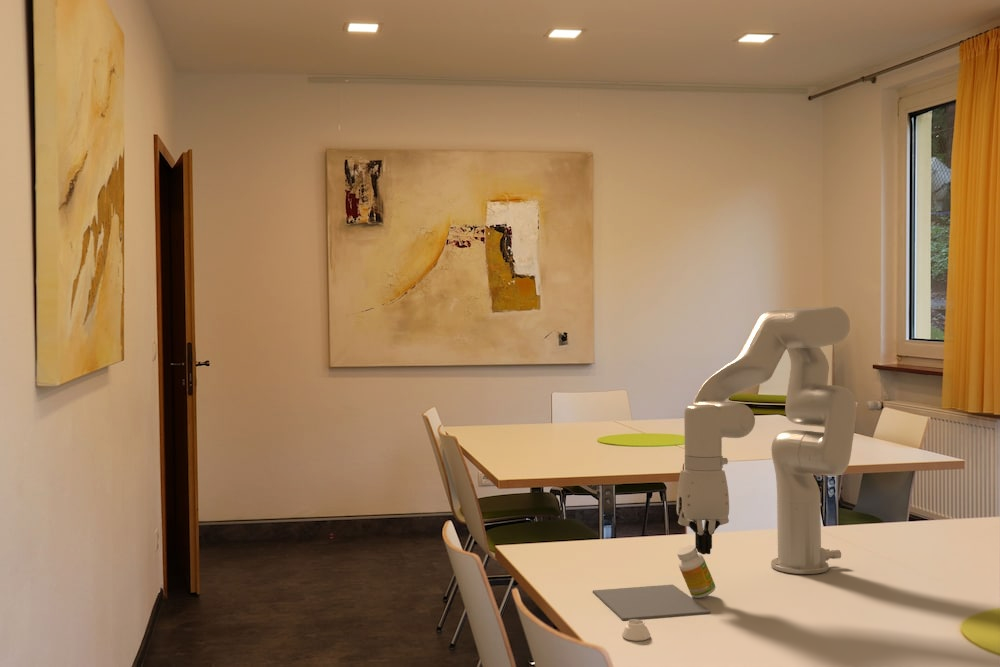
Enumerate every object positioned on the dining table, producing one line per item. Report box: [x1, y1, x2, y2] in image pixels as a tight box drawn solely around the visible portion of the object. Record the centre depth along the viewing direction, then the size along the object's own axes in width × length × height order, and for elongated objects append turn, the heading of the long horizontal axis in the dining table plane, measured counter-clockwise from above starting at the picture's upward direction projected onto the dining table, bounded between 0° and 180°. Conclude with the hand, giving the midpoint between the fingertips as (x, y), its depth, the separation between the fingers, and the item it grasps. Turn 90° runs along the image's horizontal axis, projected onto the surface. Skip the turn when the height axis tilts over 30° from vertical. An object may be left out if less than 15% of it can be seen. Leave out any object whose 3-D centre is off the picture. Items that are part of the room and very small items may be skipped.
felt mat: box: [592, 584, 712, 621], centre depth 194 cm, size 18×20×1 cm
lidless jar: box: [621, 619, 651, 642], centre depth 173 cm, size 5×3×5 cm
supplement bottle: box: [676, 545, 717, 599], centre depth 197 cm, size 5×5×10 cm
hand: (703, 552), depth 197 cm, fingers closed
